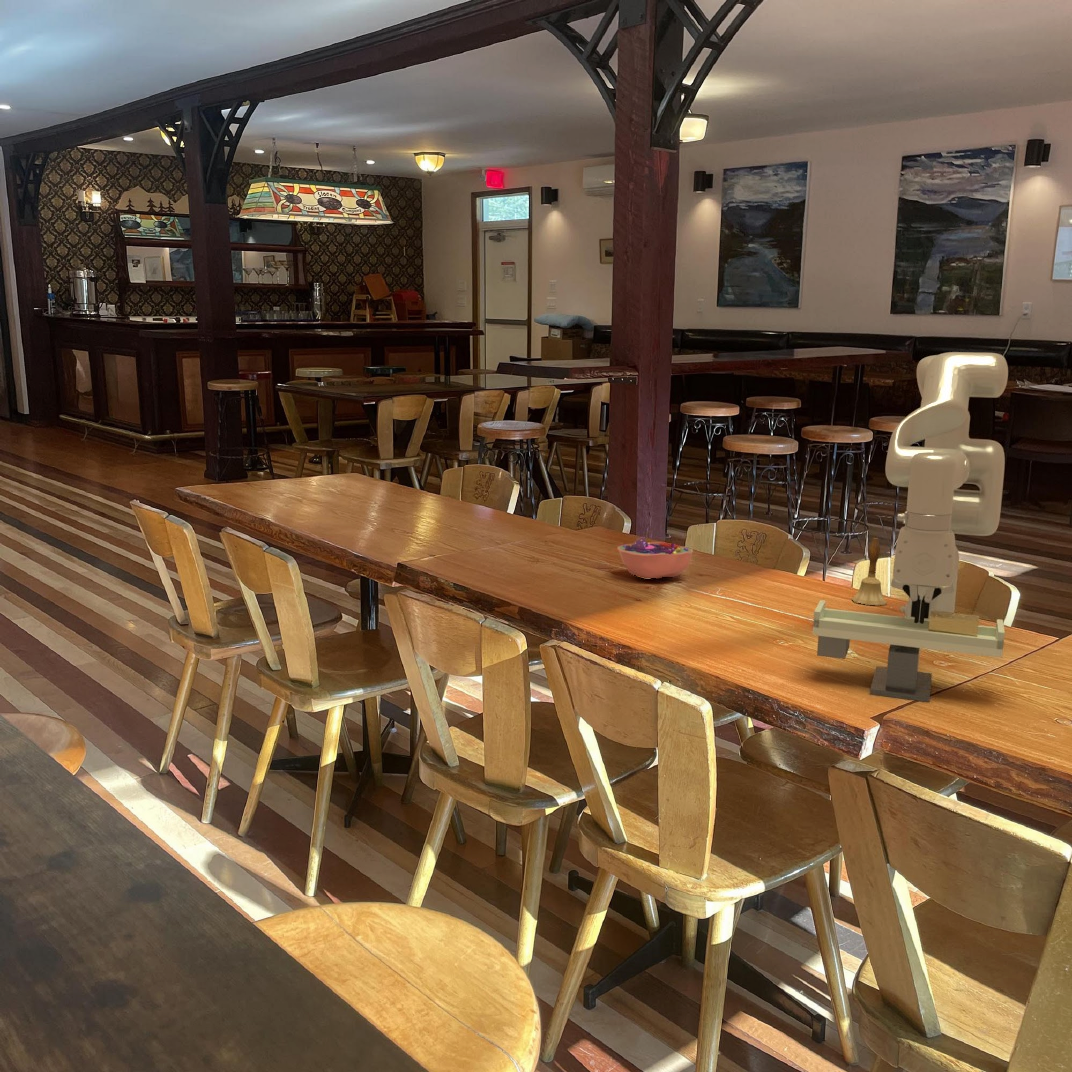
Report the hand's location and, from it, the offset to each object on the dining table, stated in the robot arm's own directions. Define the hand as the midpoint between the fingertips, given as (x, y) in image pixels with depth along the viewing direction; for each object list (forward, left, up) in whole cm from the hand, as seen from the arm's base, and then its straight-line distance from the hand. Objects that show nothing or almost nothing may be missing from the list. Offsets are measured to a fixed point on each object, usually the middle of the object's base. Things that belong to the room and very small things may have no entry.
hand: (919, 621), depth 182 cm
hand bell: (-56, +29, -13) cm, 65 cm away
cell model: (-91, -13, -13) cm, 93 cm away
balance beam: (-1, -2, -8) cm, 8 cm away
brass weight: (+4, +4, -2) cm, 6 cm away
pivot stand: (-1, -2, -13) cm, 13 cm away
